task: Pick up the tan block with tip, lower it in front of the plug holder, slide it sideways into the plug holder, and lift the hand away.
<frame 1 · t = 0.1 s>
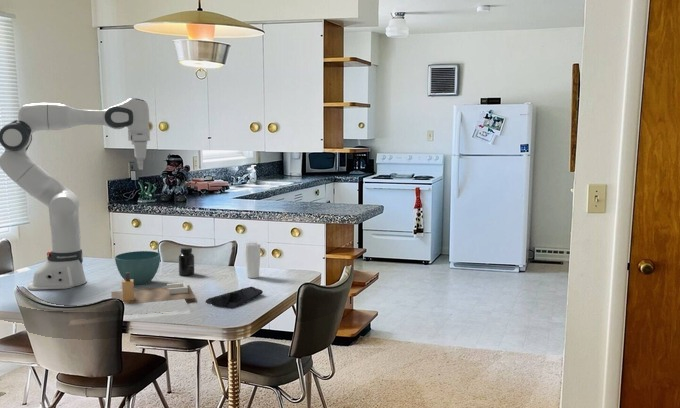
hand: (140, 168, 268), 48 cm above the table, tool pointing down, fingers open, 8 cm apart
tan block with tip: (128, 298, 235), point 1 cm above the table, touching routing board
drinking glass: (253, 277, 276), on the table
dark slate chunk: (235, 301, 240), on the table
supplement bottle: (186, 274, 280), on the table
teal bowl: (138, 284, 264), on the table
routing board: (152, 298, 241), on the table
plug holder: (175, 290, 247), resting on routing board
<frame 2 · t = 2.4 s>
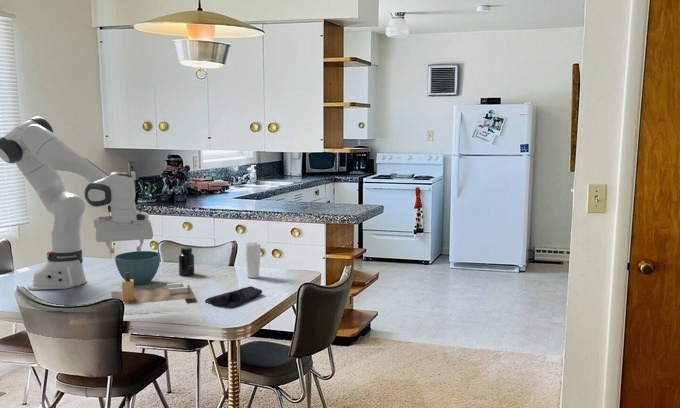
hand: (125, 252, 233), 19 cm above the table, tool pointing down, fingers open, 8 cm apart
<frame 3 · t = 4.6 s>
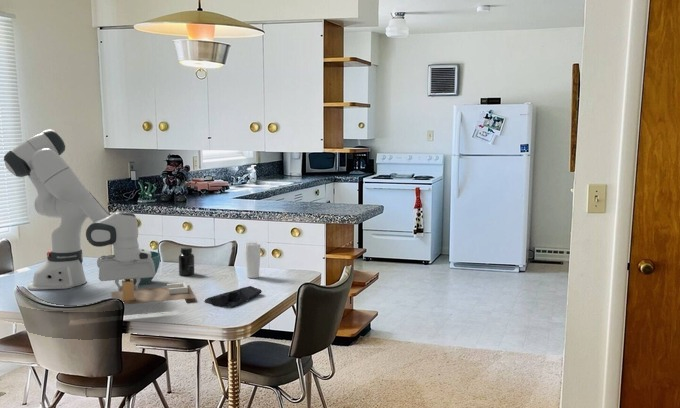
hand: (128, 290, 234), 5 cm above the table, tool pointing down, fingers closed on tan block with tip, 4 cm apart
tan block with tip: (128, 298, 235), point 2 cm above the table, touching gripper, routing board
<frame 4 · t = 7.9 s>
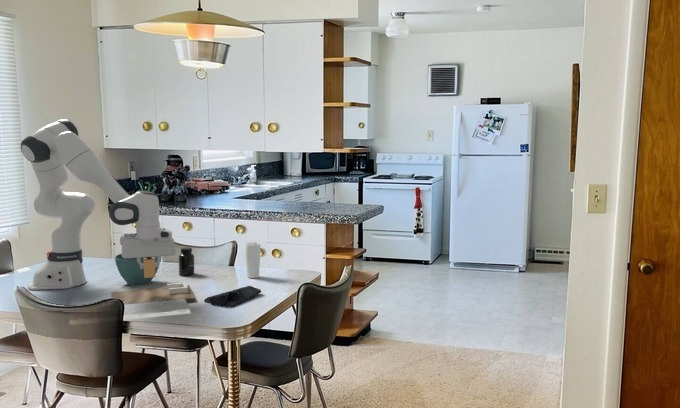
hand: (149, 268, 241), 12 cm above the table, tool pointing down, fingers closed on tan block with tip, 4 cm apart
tan block with tip: (149, 276, 242), point 8 cm above the table, touching gripper
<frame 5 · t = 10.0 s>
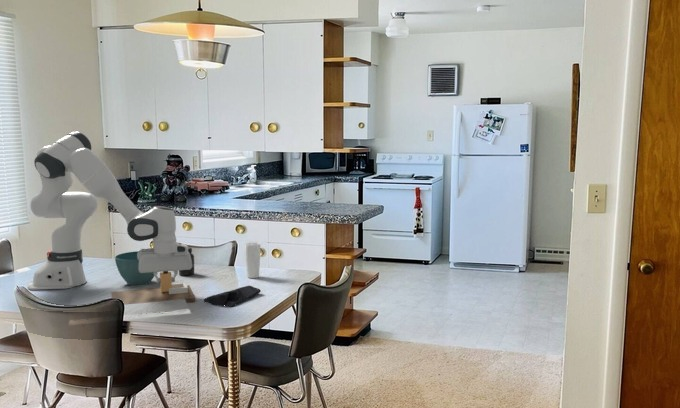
hand: (165, 282, 245), 5 cm above the table, tool pointing down, fingers closed on tan block with tip, 4 cm apart
tan block with tip: (166, 290, 245), point 2 cm above the table, touching gripper
when the fingers open (5 cm above the table, at t = 11.6 s): tan block with tip stays where it is, resting on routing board.
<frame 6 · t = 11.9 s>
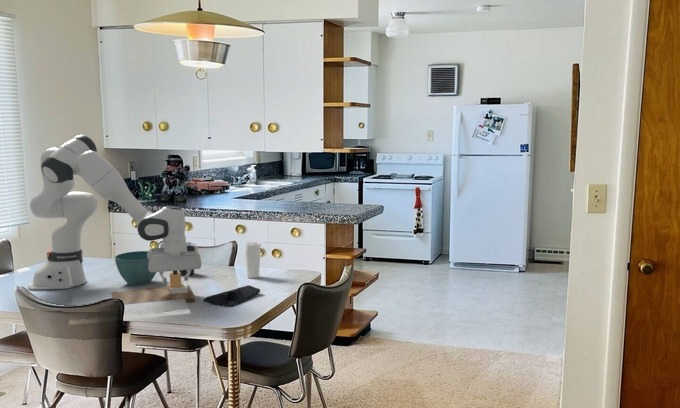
hand: (175, 281, 246), 5 cm above the table, tool pointing down, fingers open, 7 cm apart
tan block with tip: (175, 290, 247), point 1 cm above the table, touching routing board
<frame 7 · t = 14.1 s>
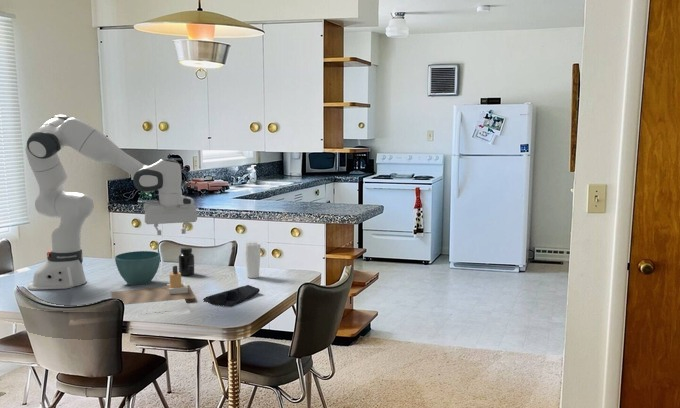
hand: (171, 234, 248), 23 cm above the table, tool pointing down, fingers open, 8 cm apart
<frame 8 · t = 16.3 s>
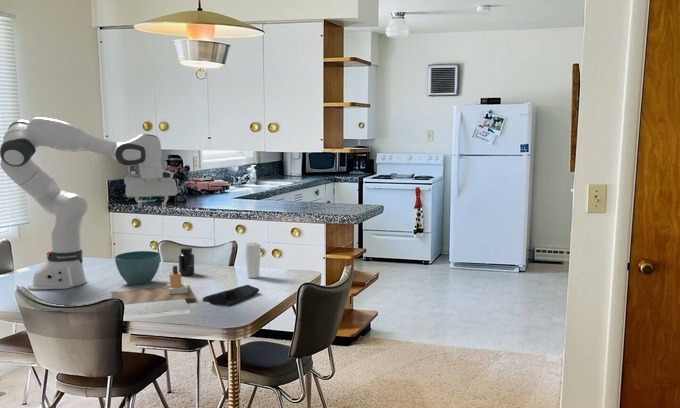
hand: (152, 207, 256), 33 cm above the table, tool pointing down, fingers open, 8 cm apart
at the end: tan block with tip 0.1 cm off-centre on the plug holder, point 0.0 cm above the plug holder's base; tan block with tip tilted 0°; the gripper is holding nothing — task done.
